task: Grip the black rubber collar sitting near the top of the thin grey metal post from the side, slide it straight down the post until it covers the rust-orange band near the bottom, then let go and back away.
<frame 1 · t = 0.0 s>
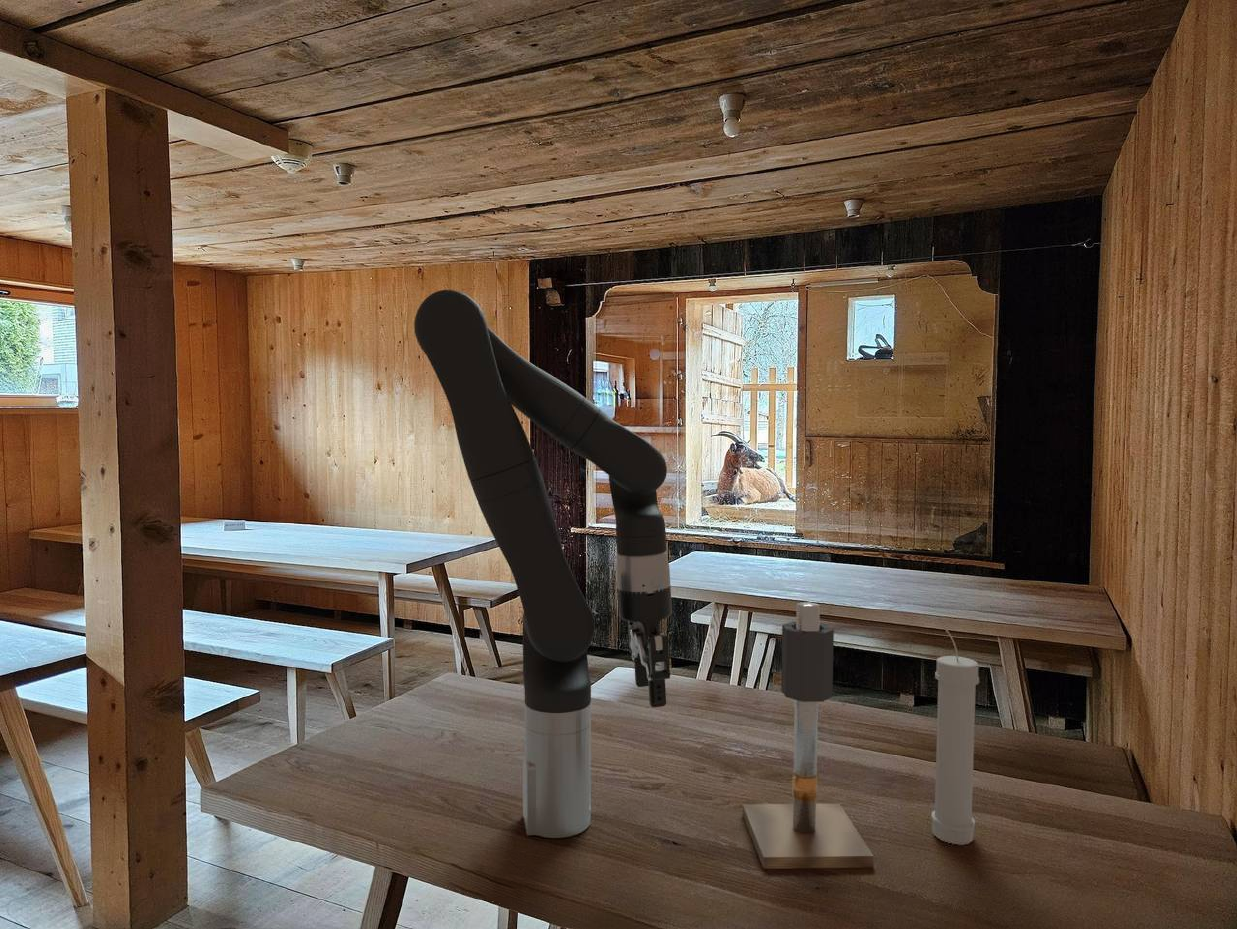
hand: (650, 695, 114), 17 cm above the table, tool pointing down, fingers open, 8 cm apart
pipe: (949, 837, 109), on the table
post: (803, 839, 108), on the table
collar: (807, 660, 107), point 24 cm above the table, slide at 14.0 cm
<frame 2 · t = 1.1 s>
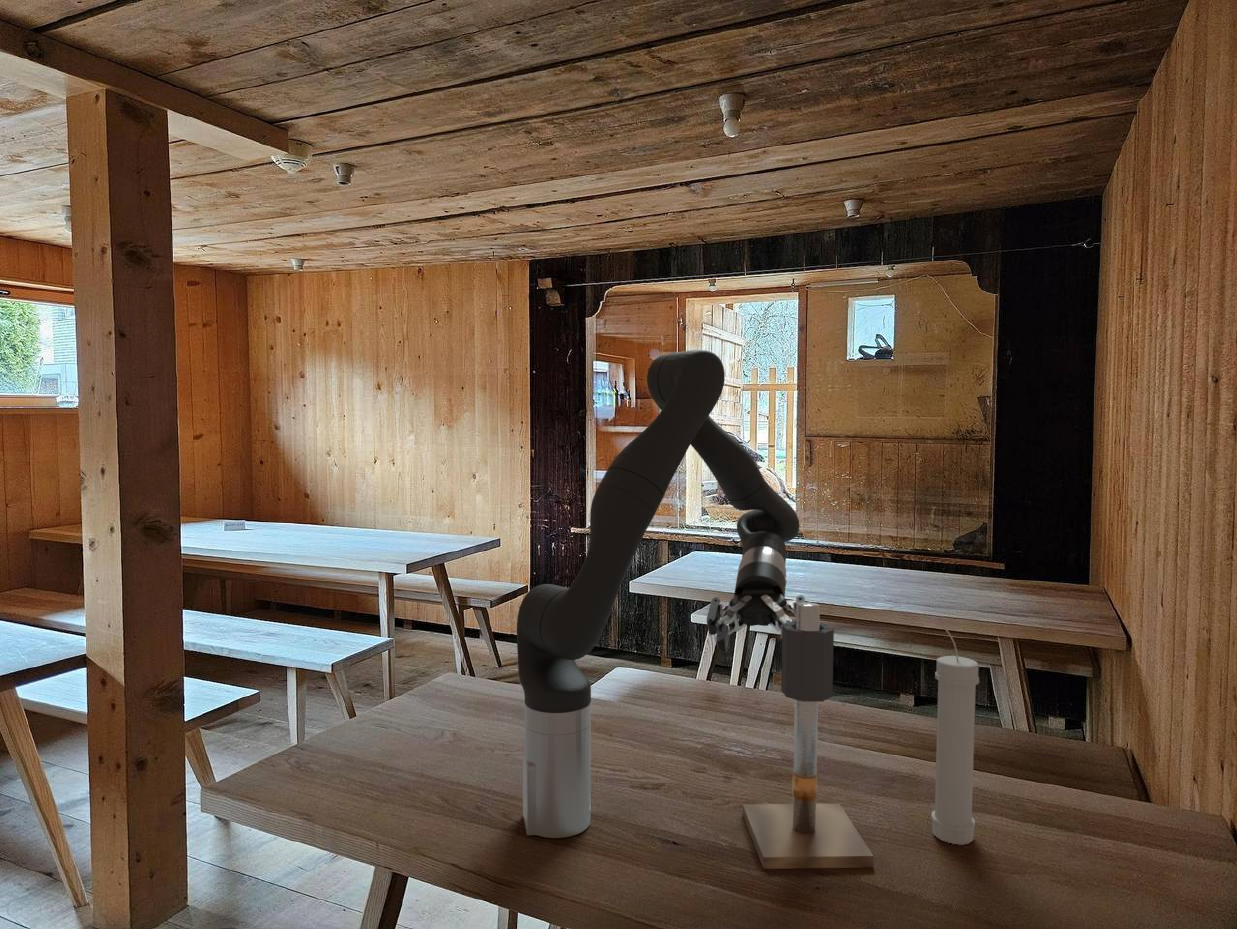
hand: (753, 647, 110), 25 cm above the table, tool tilted 65°, fingers open, 8 cm apart
collar: (807, 660, 107), point 25 cm above the table, slide at 14.0 cm, touching gripper
everything else where it was.
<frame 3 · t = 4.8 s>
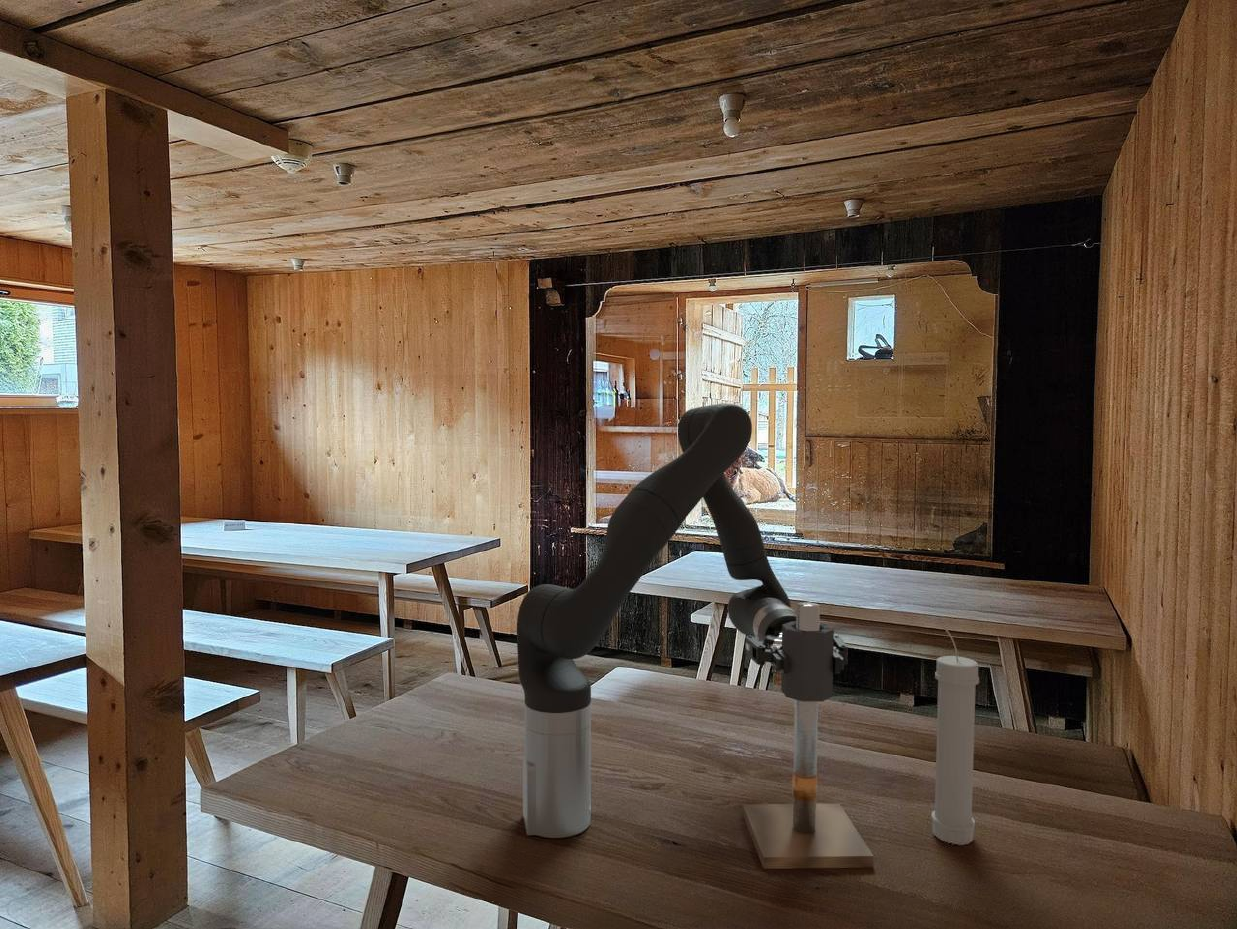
hand: (812, 665, 104), 24 cm above the table, tool horizontal, fingers closed on collar, 6 cm apart
collar: (807, 660, 107), point 25 cm above the table, slide at 14.0 cm, touching gripper
everything else where it was.
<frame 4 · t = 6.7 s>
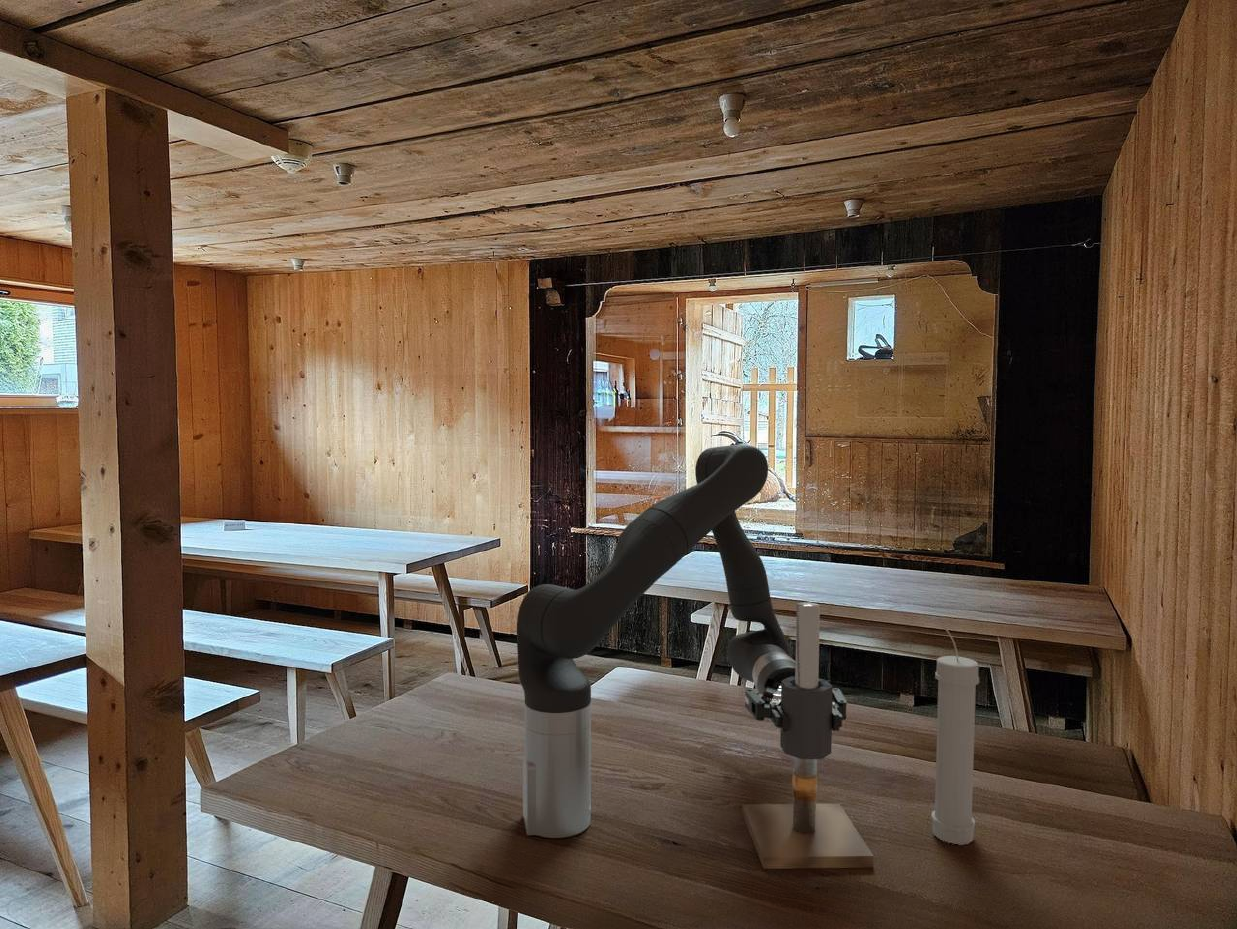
hand: (811, 723, 105), 17 cm above the table, tool horizontal, fingers closed on collar, 6 cm apart
collar: (806, 716, 107), point 17 cm above the table, slide at 6.4 cm, touching gripper
everything else where it was.
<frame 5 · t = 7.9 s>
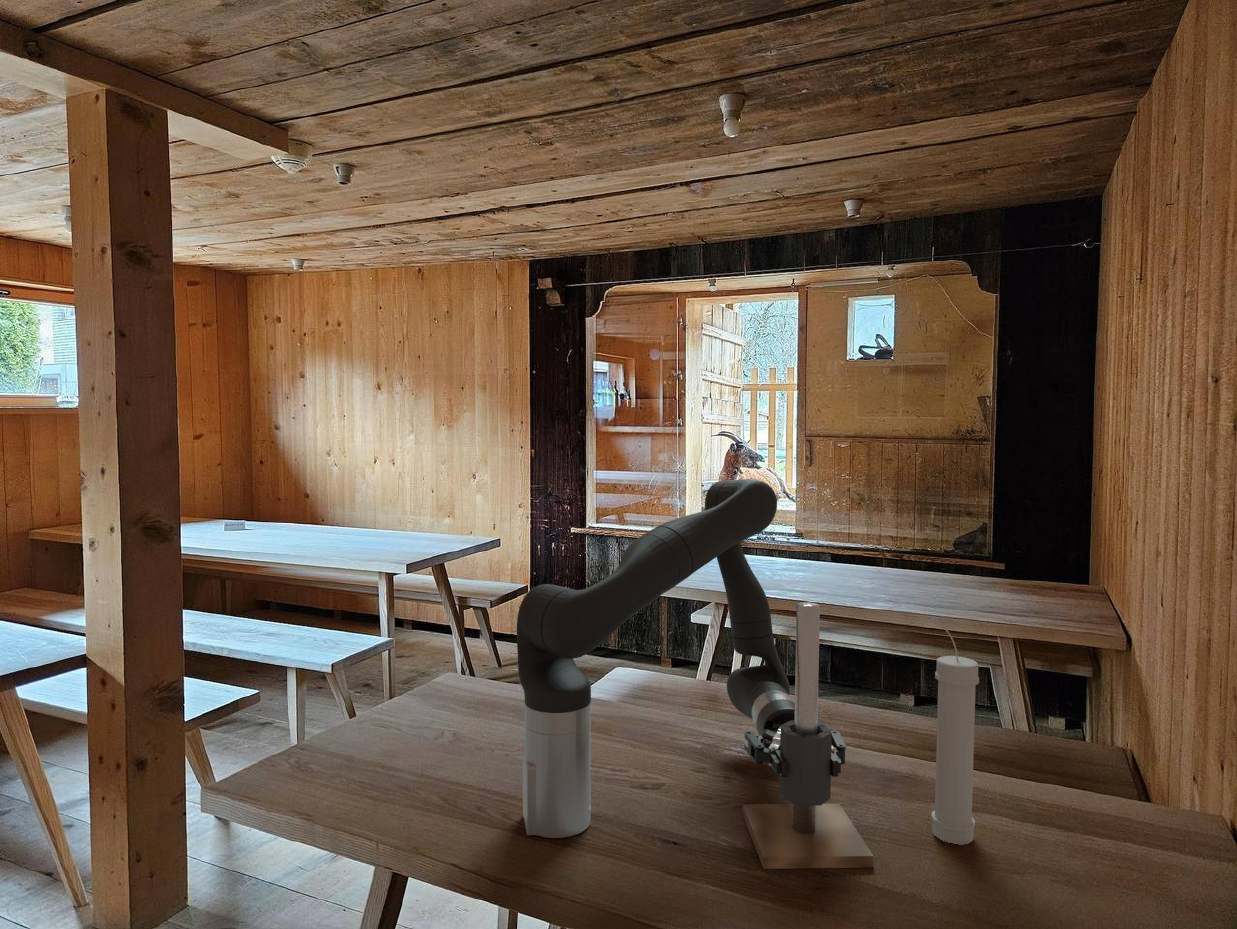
hand: (810, 769, 105), 11 cm above the table, tool horizontal, fingers closed on collar, 6 cm apart
collar: (805, 761, 107), point 11 cm above the table, slide at 0.2 cm, touching gripper
everything else where it was.
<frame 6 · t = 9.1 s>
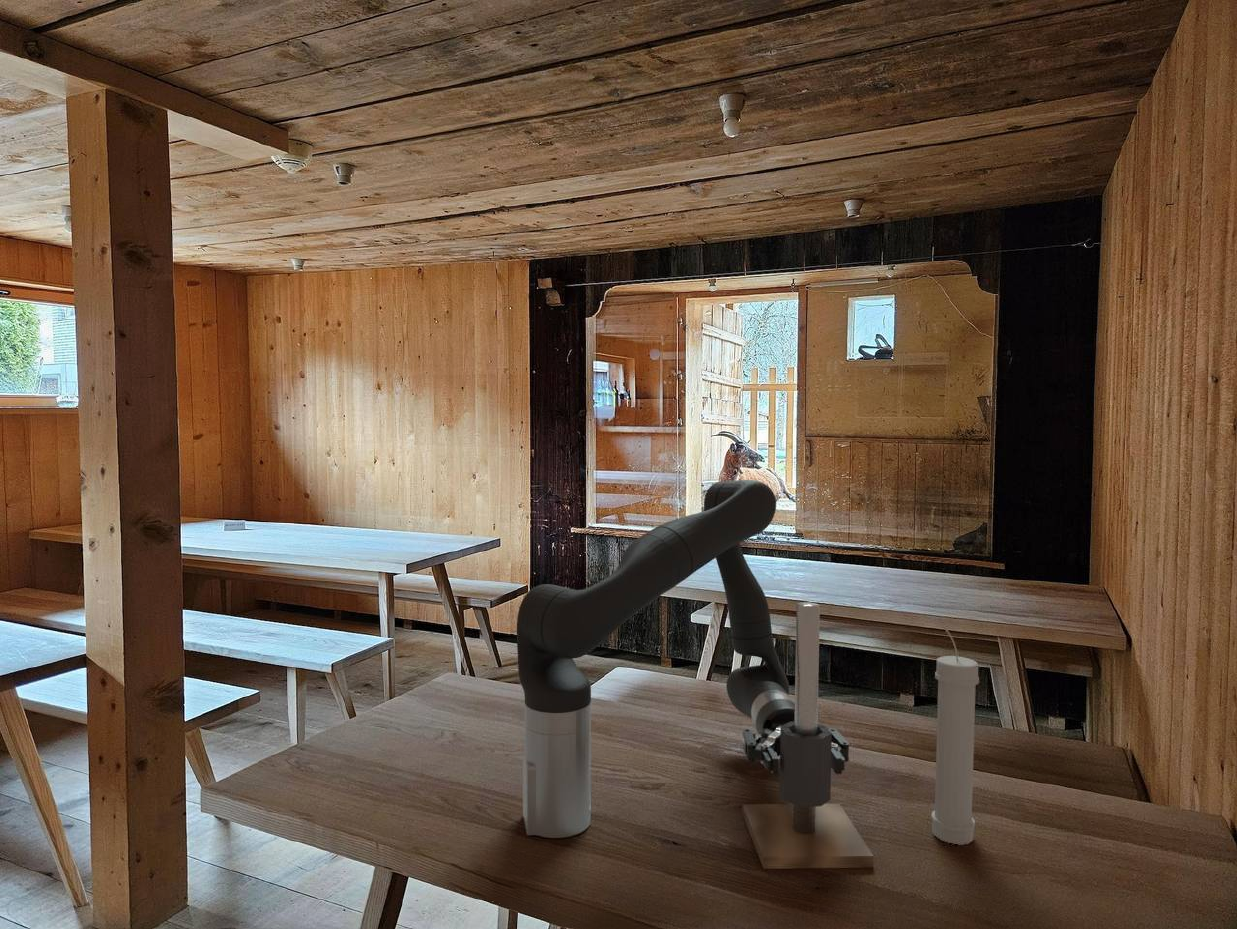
hand: (807, 767, 106), 10 cm above the table, tool horizontal, fingers open, 8 cm apart
collar: (805, 762, 107), point 11 cm above the table, slide at 0.1 cm
everything else where it was.
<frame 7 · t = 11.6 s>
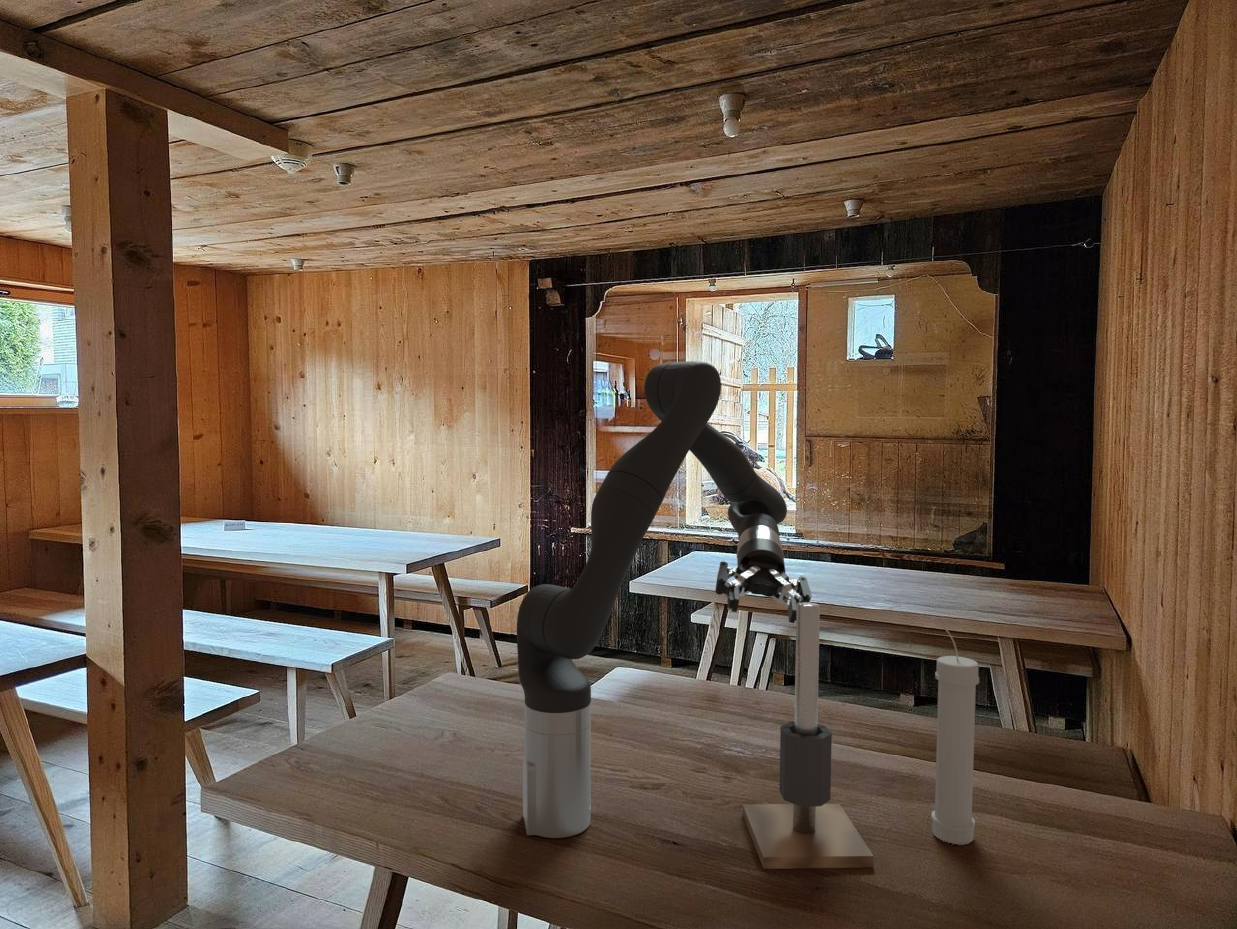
hand: (764, 612, 117), 28 cm above the table, tool tilted 70°, fingers open, 8 cm apart
nothing on the table moved.
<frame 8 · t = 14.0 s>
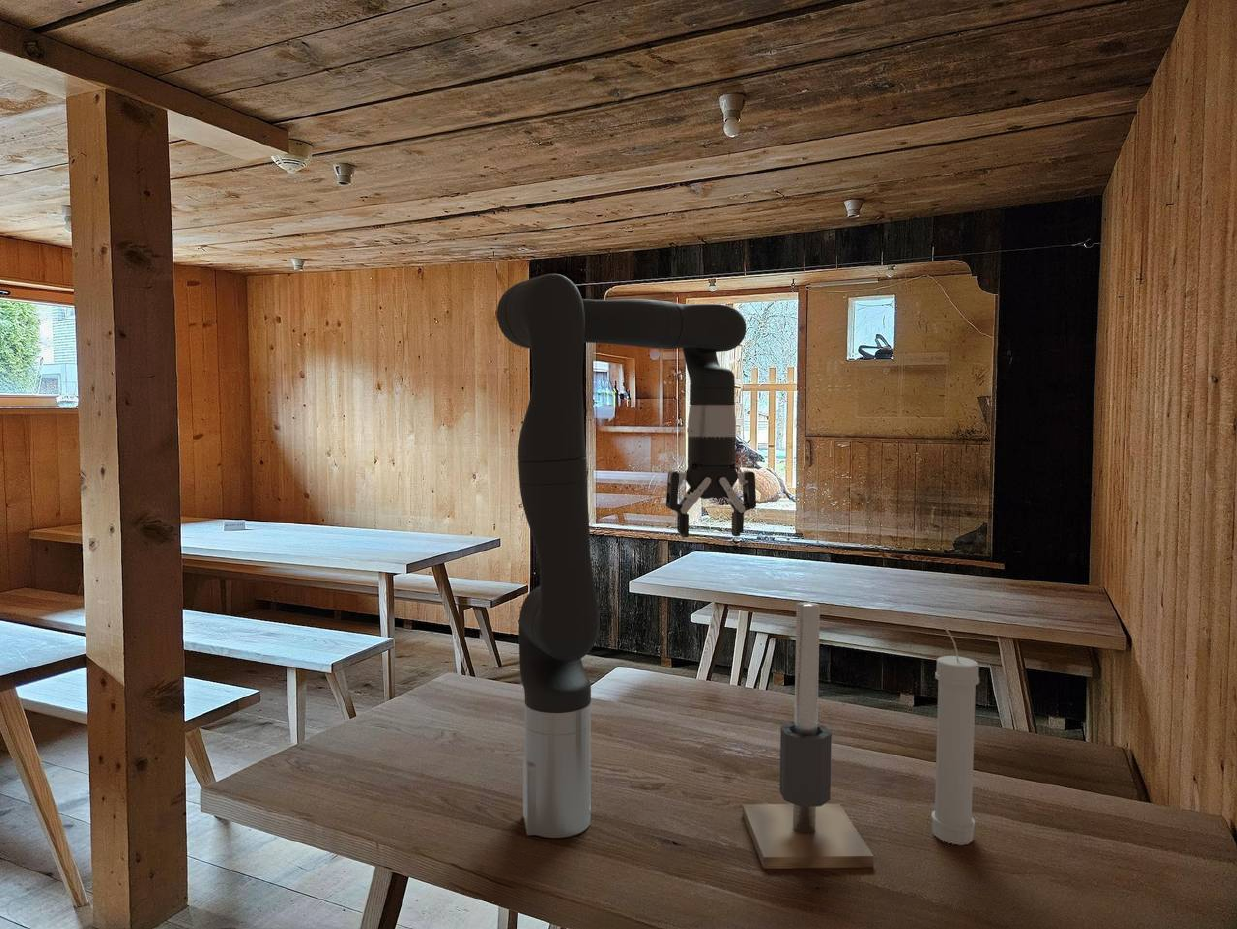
hand: (710, 536, 127), 38 cm above the table, tool pointing down, fingers open, 8 cm apart
nothing on the table moved.
at the end: collar slide at 0.1 cm; the gripper is holding nothing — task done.
